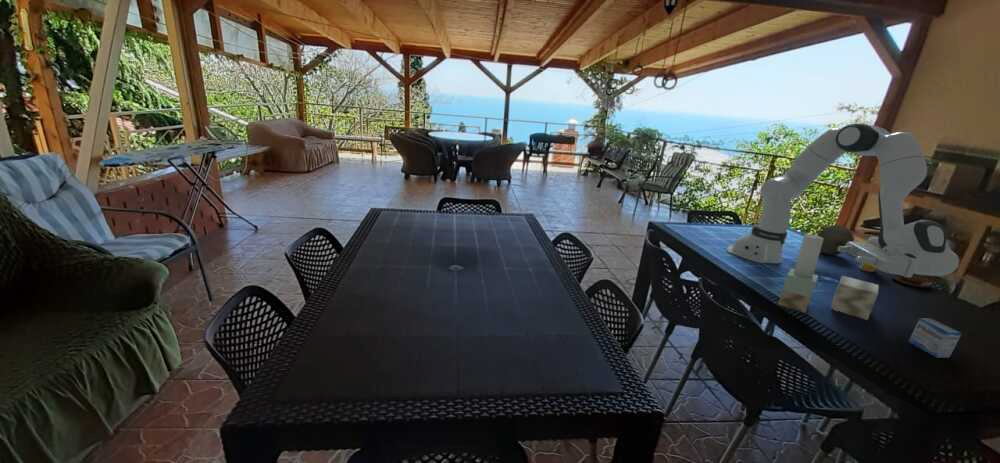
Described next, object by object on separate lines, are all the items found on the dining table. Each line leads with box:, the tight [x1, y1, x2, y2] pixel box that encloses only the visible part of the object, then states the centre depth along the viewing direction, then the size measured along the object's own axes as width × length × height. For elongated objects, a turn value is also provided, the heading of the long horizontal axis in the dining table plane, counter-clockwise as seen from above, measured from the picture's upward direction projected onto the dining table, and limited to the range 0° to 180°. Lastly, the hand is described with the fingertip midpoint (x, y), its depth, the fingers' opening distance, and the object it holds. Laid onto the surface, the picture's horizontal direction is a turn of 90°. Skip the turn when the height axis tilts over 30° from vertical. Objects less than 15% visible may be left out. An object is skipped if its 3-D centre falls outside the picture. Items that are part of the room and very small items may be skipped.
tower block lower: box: [778, 289, 814, 314], centre depth 139 cm, size 8×8×6 cm
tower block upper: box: [782, 267, 819, 298], centre depth 137 cm, size 8×8×6 cm
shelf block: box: [829, 275, 879, 321], centre depth 137 cm, size 10×10×10 cm
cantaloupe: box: [816, 224, 855, 256], centre depth 189 cm, size 14×14×15 cm
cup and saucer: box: [891, 273, 935, 288], centre depth 163 cm, size 12×12×6 cm
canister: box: [794, 233, 824, 278], centre depth 134 cm, size 5×5×14 cm
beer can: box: [858, 235, 882, 273], centre depth 173 cm, size 6×6×15 cm
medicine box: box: [908, 317, 963, 359], centre depth 115 cm, size 8×4×9 cm, turn 5°
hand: (847, 253), depth 132 cm, fingers open, 8 cm apart
